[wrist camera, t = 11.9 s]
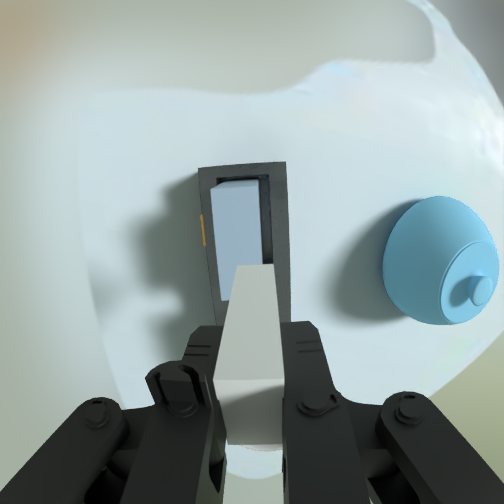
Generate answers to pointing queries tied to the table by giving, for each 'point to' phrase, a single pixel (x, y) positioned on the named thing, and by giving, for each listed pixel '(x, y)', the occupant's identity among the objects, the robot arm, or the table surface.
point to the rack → (271, 227)
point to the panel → (236, 228)
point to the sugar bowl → (440, 262)
